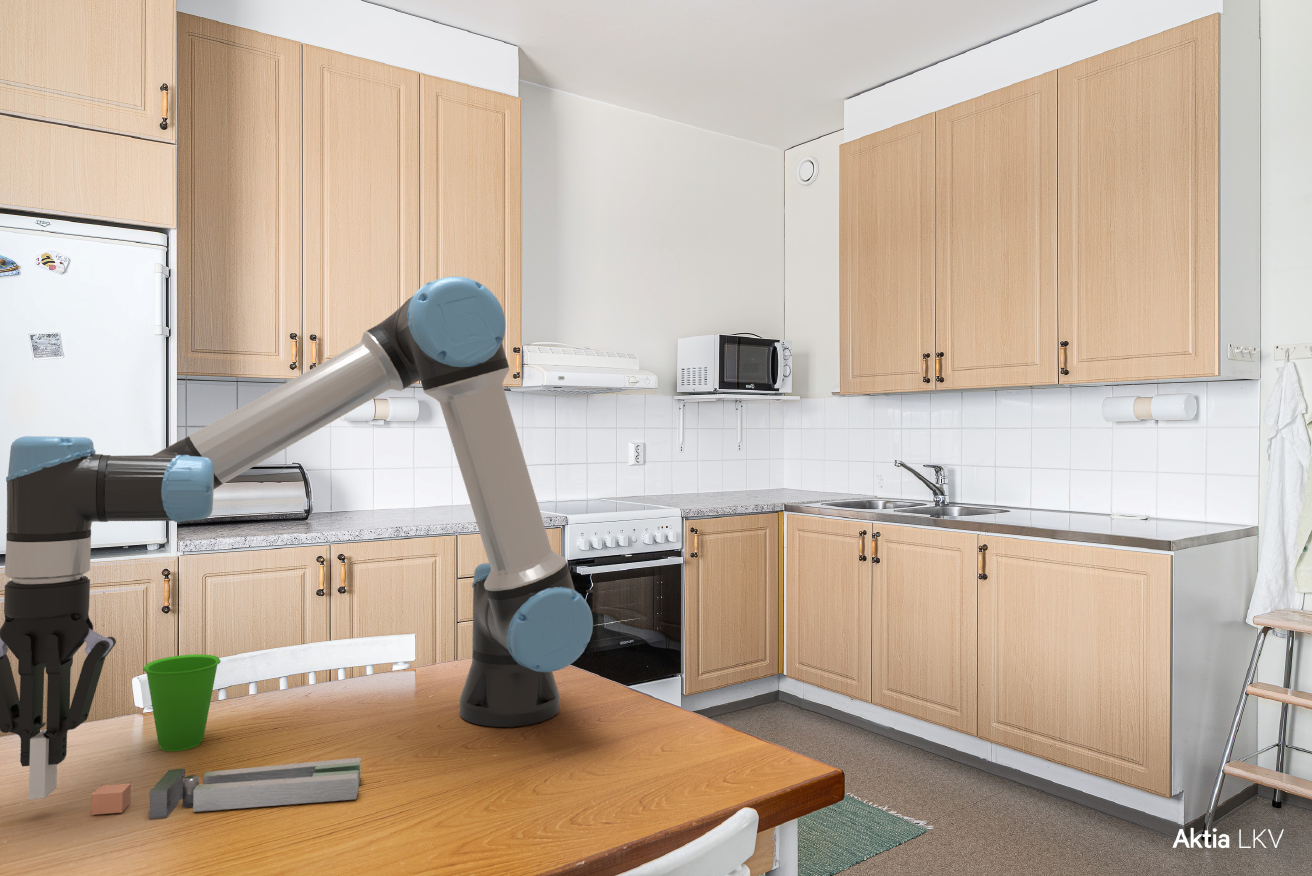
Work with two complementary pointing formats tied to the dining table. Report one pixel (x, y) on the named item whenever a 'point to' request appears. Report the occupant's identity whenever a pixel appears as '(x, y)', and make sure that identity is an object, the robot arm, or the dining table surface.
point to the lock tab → (110, 799)
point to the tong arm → (282, 771)
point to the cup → (181, 698)
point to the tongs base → (248, 792)
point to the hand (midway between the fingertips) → (42, 793)
